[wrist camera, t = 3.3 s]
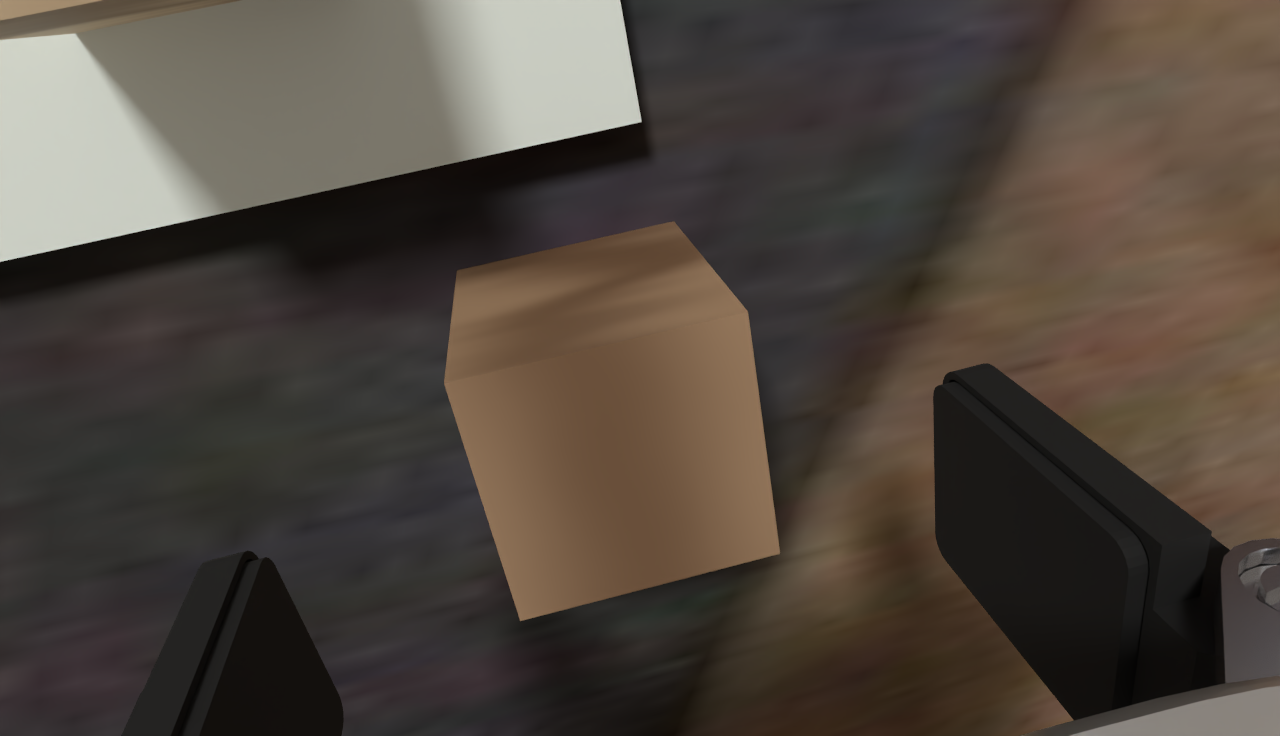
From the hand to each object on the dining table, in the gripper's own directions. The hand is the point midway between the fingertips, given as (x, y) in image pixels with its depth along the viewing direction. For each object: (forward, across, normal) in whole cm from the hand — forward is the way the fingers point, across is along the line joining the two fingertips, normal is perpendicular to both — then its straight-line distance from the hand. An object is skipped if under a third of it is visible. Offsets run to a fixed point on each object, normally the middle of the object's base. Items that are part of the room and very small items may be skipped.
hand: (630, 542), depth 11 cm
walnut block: (+9, 0, +1) cm, 9 cm away
